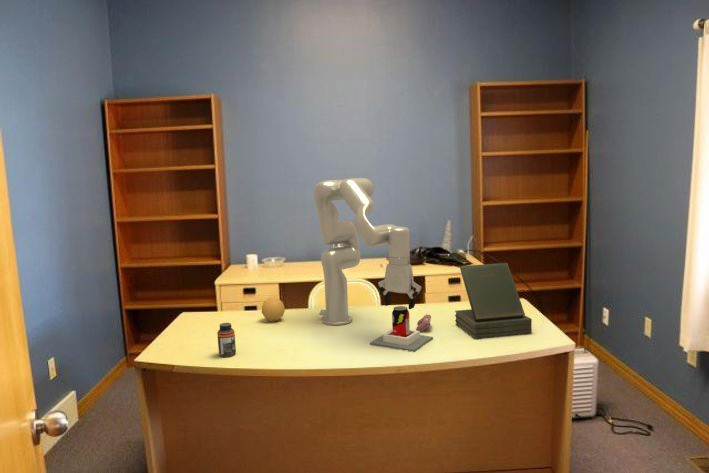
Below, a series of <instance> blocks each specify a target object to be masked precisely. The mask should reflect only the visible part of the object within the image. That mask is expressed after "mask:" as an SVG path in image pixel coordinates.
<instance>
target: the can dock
mask: <svg viewBox="0 0 709 473" xmlns="http://www.w3.org/2000/svg"><path fill="white" fill-rule="evenodd" d="M432 340H434V336H429V335H422V334H421V332H420V331H416V329H415V330H414V329H410V335H409V336H408V337H400V336H394V335H393V330H392V329H390V330H389V331H388V332H386V333H384V334H382V335H381V336H378V337H377V338H375V339H373V340H372V341H370V342H369V345H371V346H376V347H381V348H382V347H383V348H388V349H393V348H395V349H394V350H399V349H402V350H401V351H405V350H408V351H407V352H411V351H413V353H415V352H416V351H418V350H419V349H422V347H424V346H425V345H426V343H427V344H428V343H429V342H431V341H432ZM423 345H424V346H423ZM417 349H418V350H417Z"/></svg>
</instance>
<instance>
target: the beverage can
mask: <svg viewBox="0 0 709 473" xmlns="http://www.w3.org/2000/svg"><path fill="white" fill-rule="evenodd" d="M391 320H392V321H391V322H392V325H391V326H392V327H391V328H392V329H391V330H393V335H394V336H400V337H408V336H409V335H410V330H411V329H410V326H411V325H410V311H409V308H408V306H405V305H404V306H403V305H398V306H394V307H393V309H392V311H391Z"/></svg>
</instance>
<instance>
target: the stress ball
mask: <svg viewBox="0 0 709 473" xmlns="http://www.w3.org/2000/svg"><path fill="white" fill-rule="evenodd" d="M285 308H286V307H285V305H284V302H283V301H282V300H281V299H279V298H275V297H272V298H271V297H270V298H267V299H266V300H264V302H263V304H262V306H261V314H262V316H263V317H264V318H265V319H266V320H267V321H271V322H277V321H278V320H280V319H281V318H282V317H283V316H284V314H285V311H286V309H285Z"/></svg>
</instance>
